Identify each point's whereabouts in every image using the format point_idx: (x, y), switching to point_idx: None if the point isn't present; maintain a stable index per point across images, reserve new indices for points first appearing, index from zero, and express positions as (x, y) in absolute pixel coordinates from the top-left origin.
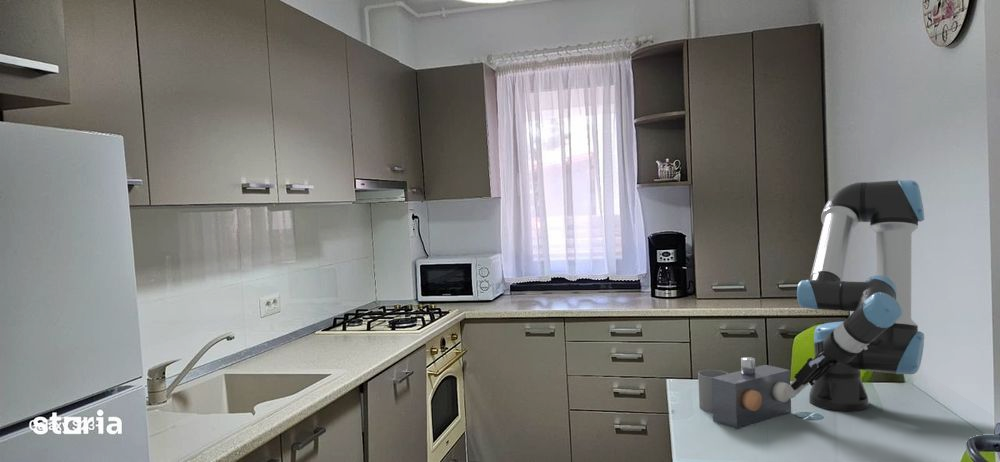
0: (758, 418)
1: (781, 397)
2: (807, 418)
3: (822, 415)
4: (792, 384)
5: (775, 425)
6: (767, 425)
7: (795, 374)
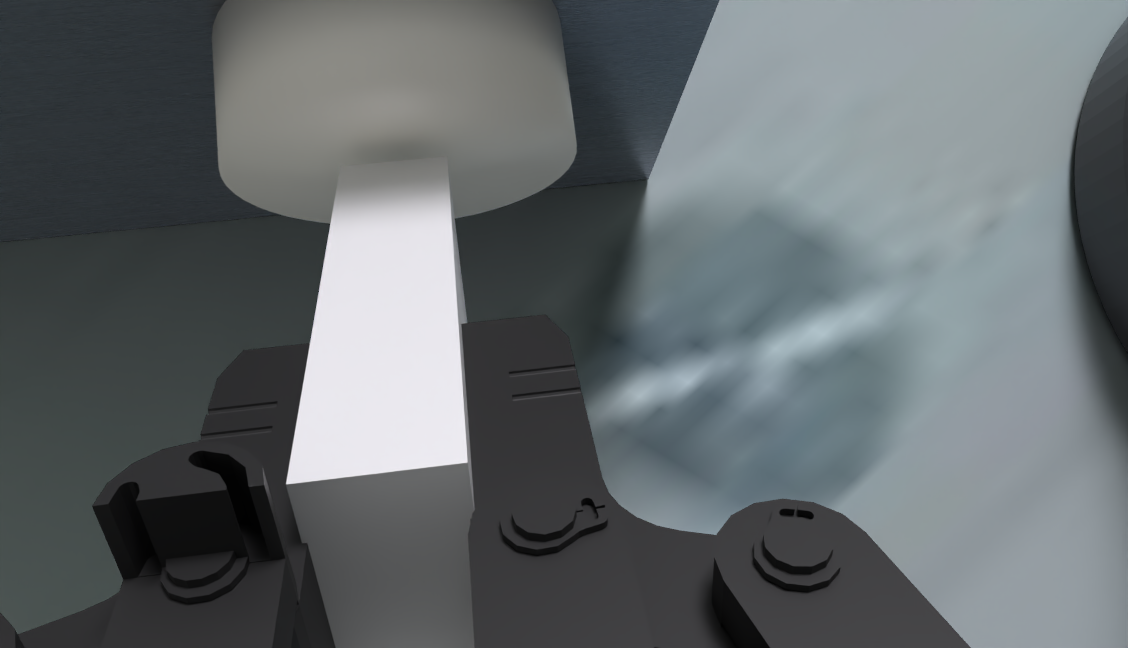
0: (9, 222)
1: (311, 203)
2: (651, 421)
3: (890, 433)
4: (209, 412)
5: (121, 411)
6: (41, 362)
7: (104, 492)
